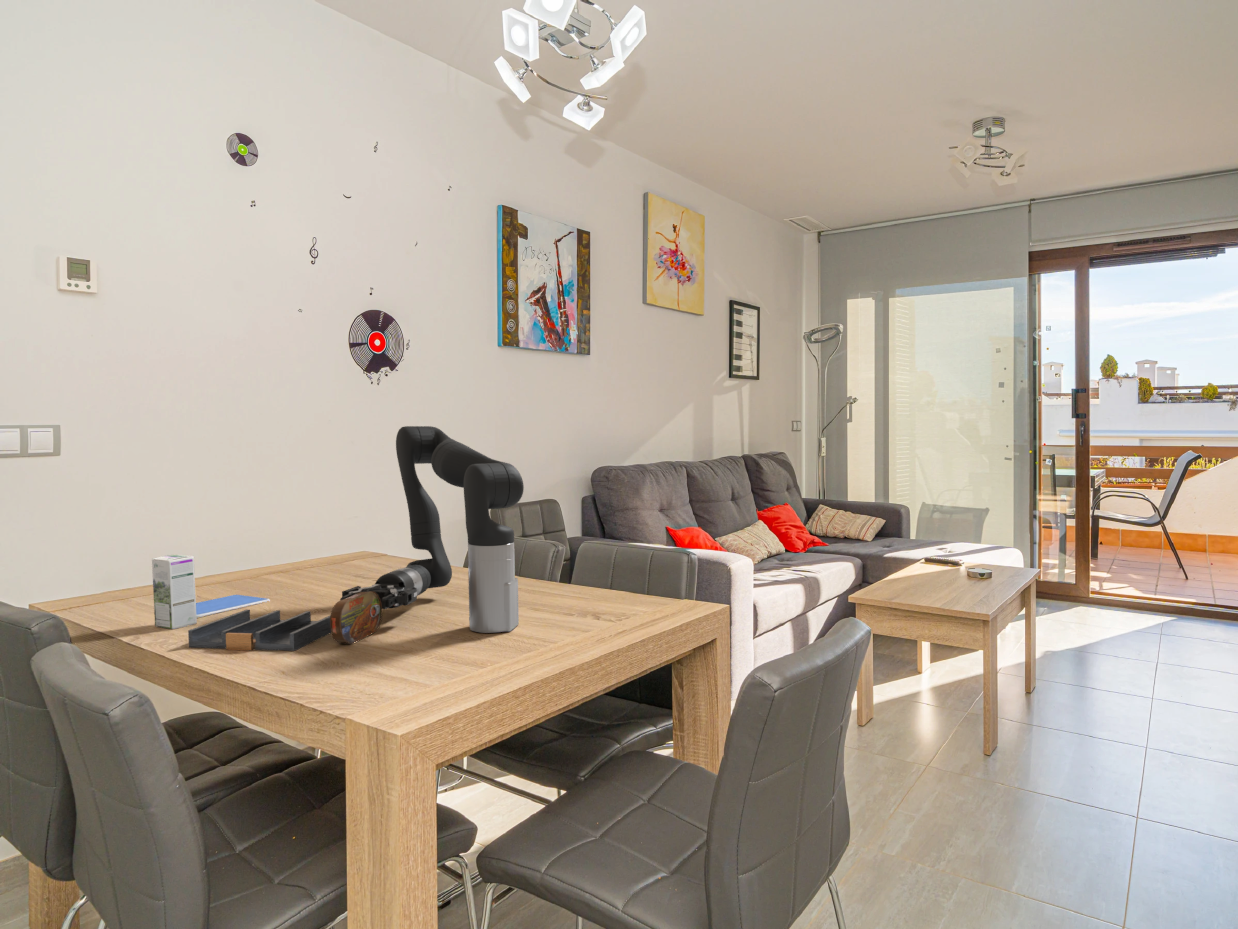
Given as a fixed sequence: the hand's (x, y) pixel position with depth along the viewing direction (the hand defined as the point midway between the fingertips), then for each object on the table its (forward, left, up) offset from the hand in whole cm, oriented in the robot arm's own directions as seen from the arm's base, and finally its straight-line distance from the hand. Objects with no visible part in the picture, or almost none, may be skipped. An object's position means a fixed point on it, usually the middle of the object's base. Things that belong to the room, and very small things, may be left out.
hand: (363, 603), depth 149 cm
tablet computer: (+46, -19, -7) cm, 50 cm away
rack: (+18, +4, -6) cm, 19 cm away
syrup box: (+43, -2, -6) cm, 44 cm away
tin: (0, +3, -6) cm, 7 cm away
